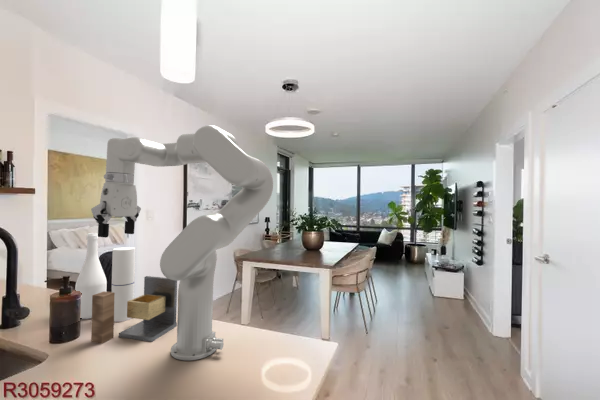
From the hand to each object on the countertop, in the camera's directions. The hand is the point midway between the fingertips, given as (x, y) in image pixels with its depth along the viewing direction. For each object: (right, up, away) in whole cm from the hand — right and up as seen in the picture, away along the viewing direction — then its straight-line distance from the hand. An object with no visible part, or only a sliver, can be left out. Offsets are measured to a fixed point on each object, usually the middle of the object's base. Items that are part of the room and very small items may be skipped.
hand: (116, 235), depth 92 cm
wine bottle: (-21, -32, +19) cm, 42 cm away
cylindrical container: (-8, -32, +17) cm, 37 cm away
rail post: (-4, -32, -1) cm, 32 cm away
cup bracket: (+7, -32, +6) cm, 33 cm away
